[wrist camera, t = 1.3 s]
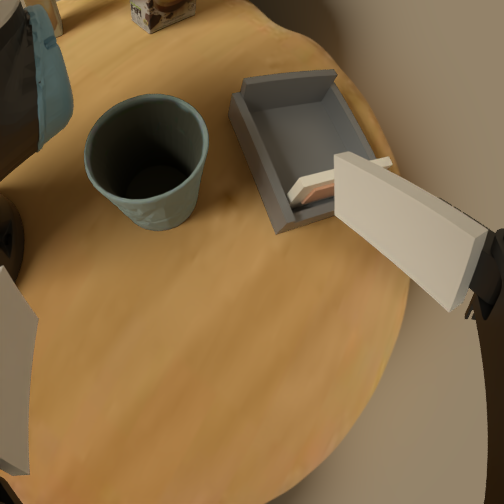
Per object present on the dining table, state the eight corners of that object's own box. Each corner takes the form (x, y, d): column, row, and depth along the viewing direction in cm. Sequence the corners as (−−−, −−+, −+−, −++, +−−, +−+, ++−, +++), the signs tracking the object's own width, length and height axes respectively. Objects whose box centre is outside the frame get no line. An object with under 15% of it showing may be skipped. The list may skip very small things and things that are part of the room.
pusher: (364, 190, 37) (394, 167, 30) (284, 213, 35) (305, 190, 28) (359, 180, 37) (388, 156, 31) (280, 203, 35) (299, 177, 28)
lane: (373, 203, 39) (403, 183, 32) (275, 234, 35) (294, 215, 29) (321, 99, 41) (340, 69, 34) (227, 115, 37) (234, 79, 31)
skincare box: (41, 28, 36) (24, -18, 24) (62, 19, 37) (48, -29, 25) (41, 46, 35) (21, -4, 23) (63, 35, 36) (47, -16, 24)
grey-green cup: (218, 176, 36) (229, 116, 24) (179, 255, 33) (171, 224, 22) (142, 145, 35) (126, 80, 23) (100, 219, 32) (60, 174, 21)
